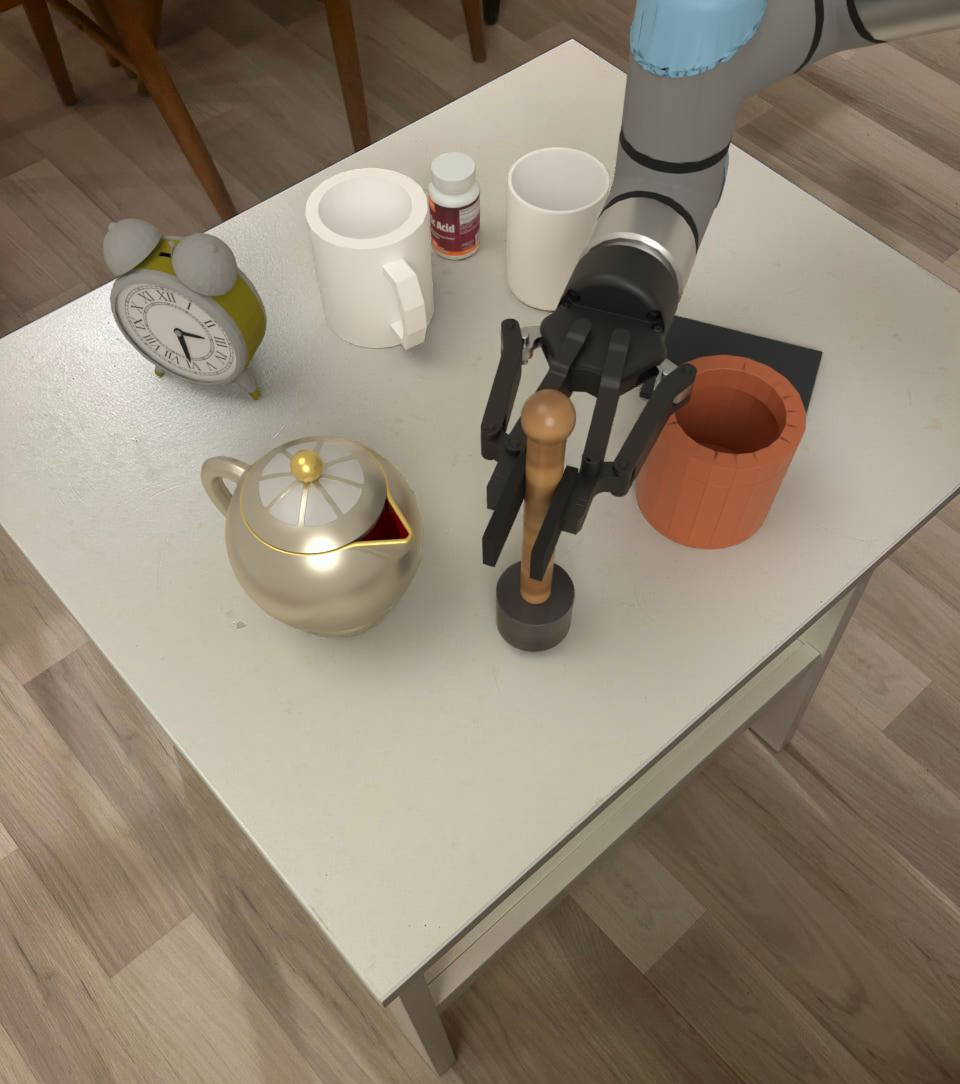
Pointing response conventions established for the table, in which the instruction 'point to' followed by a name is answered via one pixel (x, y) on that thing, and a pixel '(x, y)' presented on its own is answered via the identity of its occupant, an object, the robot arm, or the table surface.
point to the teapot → (319, 532)
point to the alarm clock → (184, 304)
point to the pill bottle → (454, 206)
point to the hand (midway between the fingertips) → (512, 559)
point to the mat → (740, 353)
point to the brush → (521, 602)
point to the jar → (722, 454)
